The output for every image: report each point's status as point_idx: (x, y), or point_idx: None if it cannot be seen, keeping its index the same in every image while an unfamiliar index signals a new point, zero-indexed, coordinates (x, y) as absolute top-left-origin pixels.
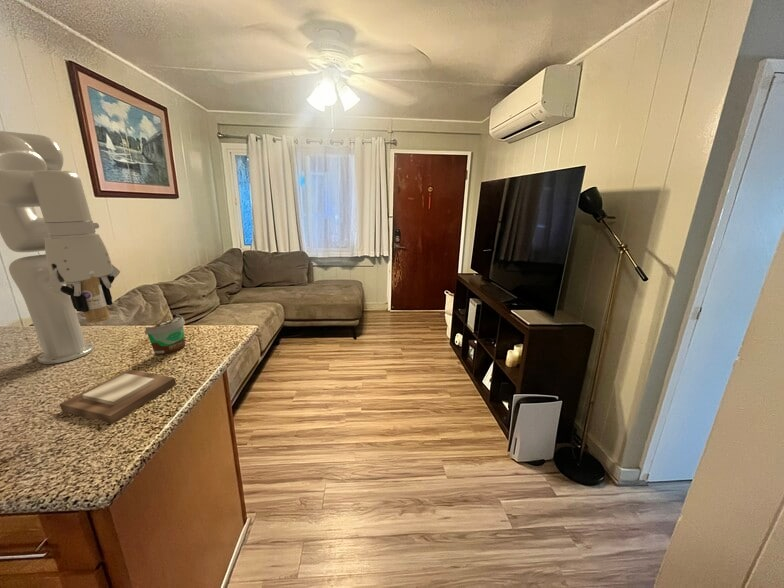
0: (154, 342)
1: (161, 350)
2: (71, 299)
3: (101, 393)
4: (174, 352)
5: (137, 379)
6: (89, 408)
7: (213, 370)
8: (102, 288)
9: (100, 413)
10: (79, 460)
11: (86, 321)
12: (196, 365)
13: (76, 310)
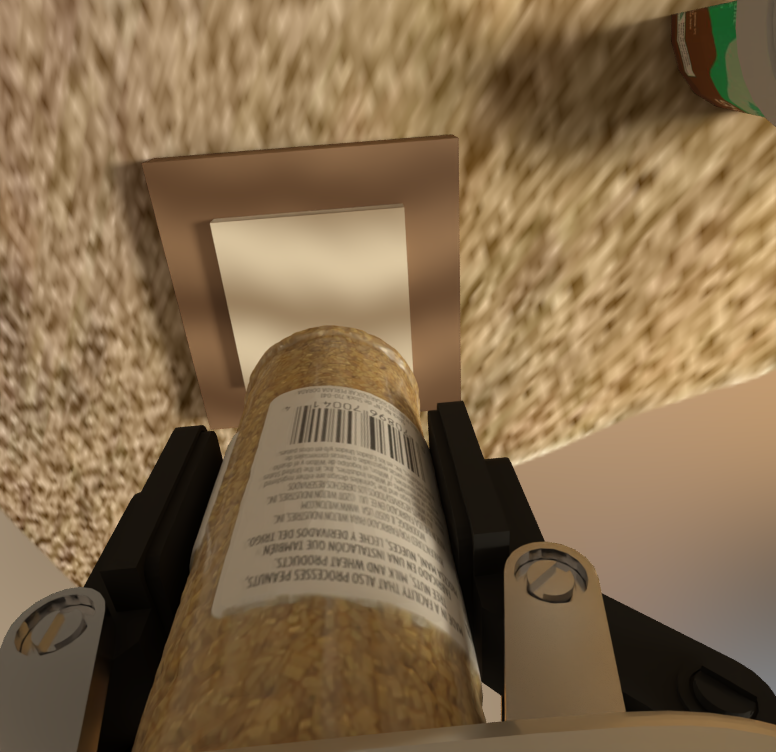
0: (715, 38)
1: (691, 66)
2: (92, 579)
3: (255, 291)
4: (714, 103)
5: (385, 319)
6: (194, 321)
7: (576, 431)
8: (477, 643)
9: (201, 388)
10: (100, 483)
11: (244, 400)
12: (601, 339)
13: (176, 432)
